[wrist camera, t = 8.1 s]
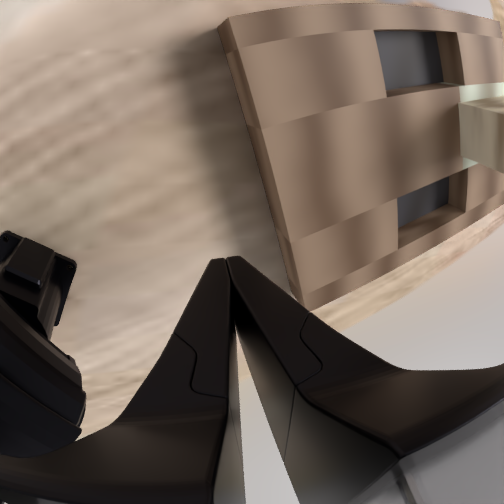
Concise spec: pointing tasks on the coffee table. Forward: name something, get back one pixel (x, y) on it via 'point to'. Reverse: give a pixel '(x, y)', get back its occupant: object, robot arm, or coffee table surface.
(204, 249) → the coffee table surface
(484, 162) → the birch block
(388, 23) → the board
